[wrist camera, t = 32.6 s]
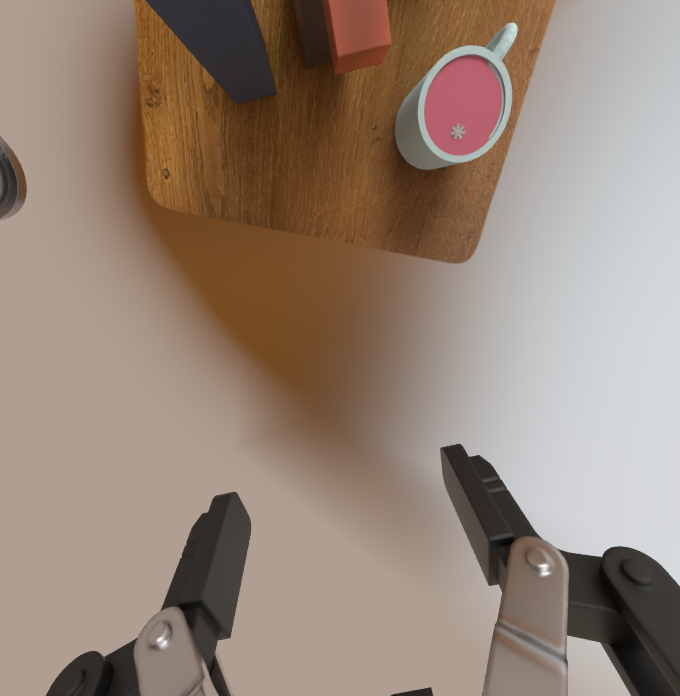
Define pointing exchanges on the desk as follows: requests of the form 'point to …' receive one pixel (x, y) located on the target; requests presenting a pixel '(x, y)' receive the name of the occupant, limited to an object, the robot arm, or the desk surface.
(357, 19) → the bar
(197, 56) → the dark blue long block
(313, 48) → the plinth
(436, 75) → the mug
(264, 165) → the desk surface
